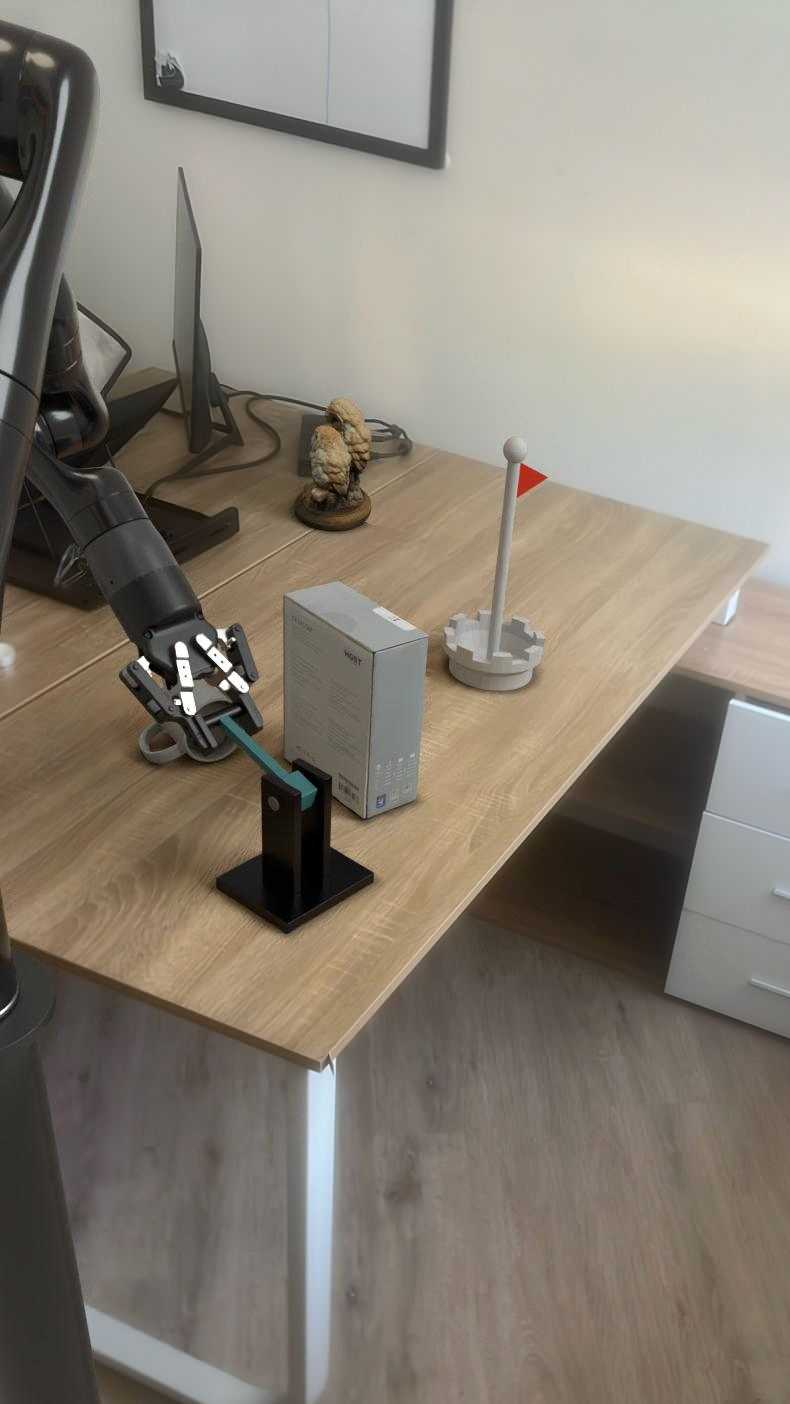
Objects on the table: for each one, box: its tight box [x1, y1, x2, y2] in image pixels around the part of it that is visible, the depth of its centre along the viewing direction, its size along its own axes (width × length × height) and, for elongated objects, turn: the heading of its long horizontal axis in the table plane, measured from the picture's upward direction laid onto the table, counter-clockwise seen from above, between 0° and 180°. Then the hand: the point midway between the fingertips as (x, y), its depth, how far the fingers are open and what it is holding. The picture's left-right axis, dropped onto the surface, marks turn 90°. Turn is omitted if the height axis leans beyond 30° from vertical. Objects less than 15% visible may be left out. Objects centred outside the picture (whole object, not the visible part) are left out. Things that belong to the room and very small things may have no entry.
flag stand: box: [442, 436, 549, 692], centre depth 158 cm, size 13×13×30 cm
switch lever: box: [202, 702, 317, 811], centre depth 121 cm, size 13×5×2 cm, turn 53°
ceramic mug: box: [138, 679, 245, 764], centre depth 141 cm, size 11×8×8 cm
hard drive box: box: [282, 580, 430, 819], centre depth 137 cm, size 16×8×20 cm, turn 44°
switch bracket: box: [215, 758, 375, 934], centre depth 123 cm, size 10×12×13 cm
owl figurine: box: [294, 397, 373, 532], centre depth 196 cm, size 18×12×17 cm, turn 0°
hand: (234, 742), depth 123 cm, fingers closed on switch lever, 5 cm apart
